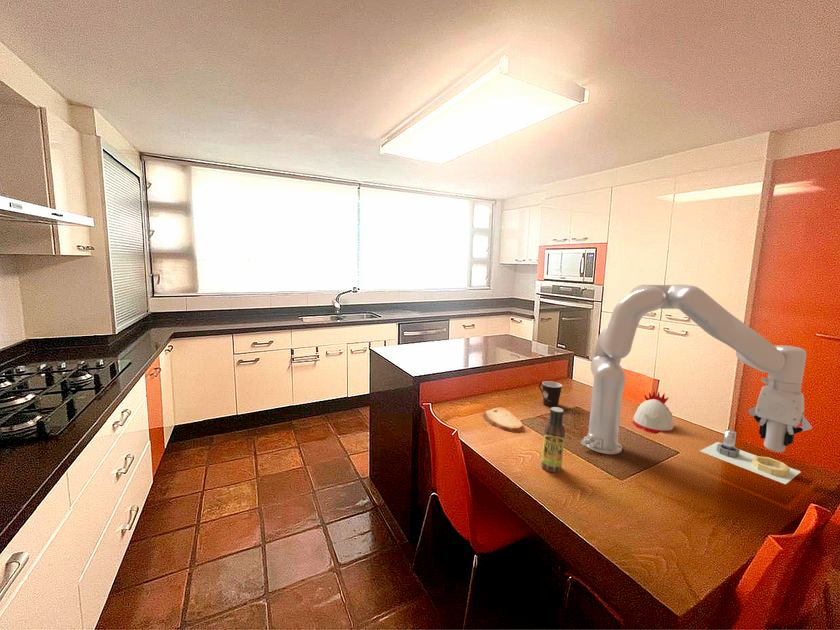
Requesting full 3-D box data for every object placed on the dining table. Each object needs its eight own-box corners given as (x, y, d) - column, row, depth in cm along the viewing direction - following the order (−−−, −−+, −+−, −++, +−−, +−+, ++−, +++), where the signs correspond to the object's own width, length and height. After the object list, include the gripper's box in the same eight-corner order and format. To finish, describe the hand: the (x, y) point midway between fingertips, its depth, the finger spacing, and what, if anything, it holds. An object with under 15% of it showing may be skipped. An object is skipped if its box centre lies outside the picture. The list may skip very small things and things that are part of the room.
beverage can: (786, 454, 111) (792, 417, 109) (765, 450, 114) (771, 413, 112) (781, 447, 115) (787, 412, 113) (761, 443, 118) (766, 408, 116)
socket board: (784, 488, 107) (786, 478, 107) (698, 454, 126) (700, 445, 126) (800, 475, 114) (802, 465, 114) (717, 444, 133) (718, 436, 133)
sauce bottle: (540, 470, 114) (544, 410, 111) (541, 460, 120) (545, 403, 117) (562, 475, 112) (566, 414, 109) (562, 465, 118) (566, 407, 115)
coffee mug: (563, 408, 165) (564, 387, 163) (544, 408, 165) (545, 387, 163) (554, 399, 176) (555, 379, 175) (536, 398, 176) (537, 379, 175)
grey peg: (731, 456, 123) (734, 434, 122) (720, 452, 125) (723, 430, 124) (734, 454, 124) (738, 432, 123) (724, 450, 127) (727, 428, 126)
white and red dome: (672, 437, 138) (676, 400, 136) (630, 427, 146) (634, 392, 144) (673, 425, 149) (678, 390, 147) (635, 416, 157) (638, 383, 155)
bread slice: (524, 435, 139) (524, 425, 138) (477, 427, 145) (478, 418, 145) (527, 417, 156) (527, 408, 155) (485, 410, 162) (485, 402, 161)
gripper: (743, 379, 117) (736, 432, 119) (819, 396, 102) (809, 456, 105) (752, 376, 121) (745, 428, 123) (827, 392, 106) (817, 450, 109)
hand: (775, 440), depth 114 cm, fingers closed on beverage can, 4 cm apart
